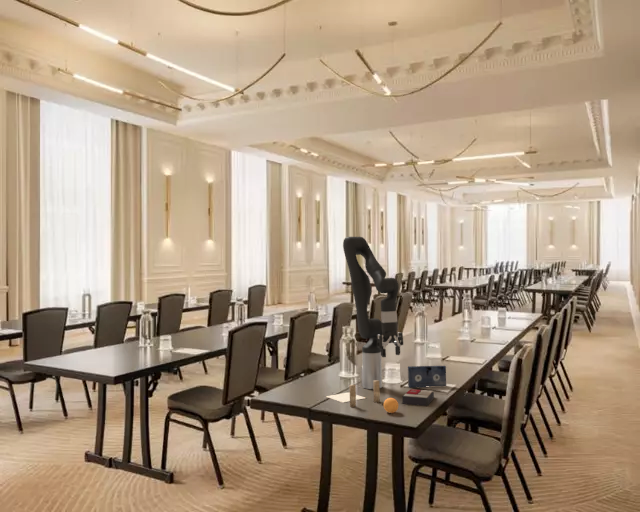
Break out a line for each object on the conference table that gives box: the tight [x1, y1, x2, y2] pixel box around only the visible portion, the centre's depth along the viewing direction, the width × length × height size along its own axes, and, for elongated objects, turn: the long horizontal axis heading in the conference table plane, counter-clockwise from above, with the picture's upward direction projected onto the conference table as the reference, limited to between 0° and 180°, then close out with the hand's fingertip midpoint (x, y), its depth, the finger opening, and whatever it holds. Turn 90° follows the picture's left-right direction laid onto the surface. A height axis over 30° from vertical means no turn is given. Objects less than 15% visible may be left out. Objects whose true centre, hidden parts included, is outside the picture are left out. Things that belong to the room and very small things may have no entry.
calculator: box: [401, 388, 435, 407], centre depth 248 cm, size 11×4×15 cm
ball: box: [383, 397, 399, 414], centre depth 229 cm, size 6×6×6 cm
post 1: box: [349, 384, 357, 408], centre depth 240 cm, size 3×3×9 cm
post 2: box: [373, 380, 381, 403], centre depth 247 cm, size 3×3×9 cm
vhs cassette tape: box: [407, 365, 447, 389], centre depth 274 cm, size 18×3×10 cm, turn 92°
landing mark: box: [325, 391, 366, 404], centre depth 255 cm, size 13×13×1 cm
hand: (390, 356), depth 261 cm, fingers open, 8 cm apart
